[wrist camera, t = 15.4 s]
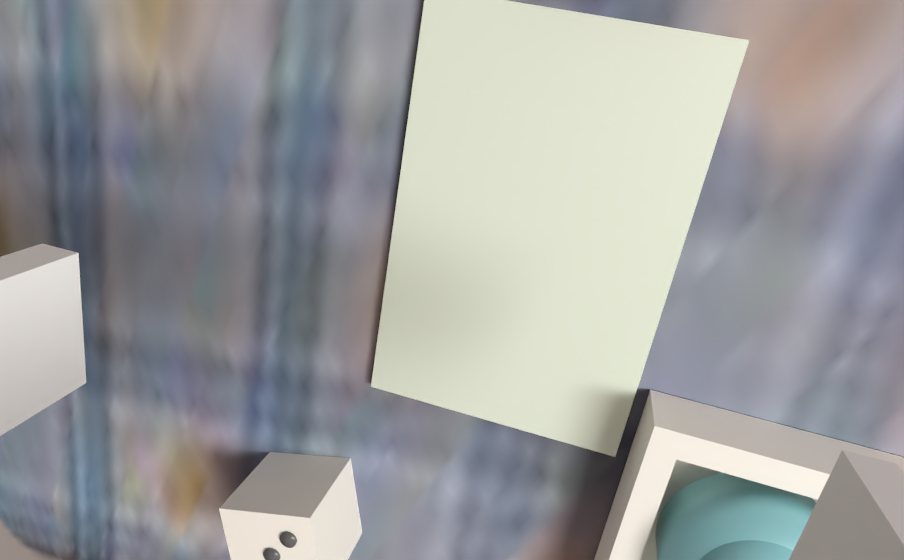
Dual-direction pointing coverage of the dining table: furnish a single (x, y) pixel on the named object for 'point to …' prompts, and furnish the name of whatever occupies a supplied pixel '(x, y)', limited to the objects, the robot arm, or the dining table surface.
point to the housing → (709, 464)
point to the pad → (544, 210)
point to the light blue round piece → (731, 521)
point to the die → (294, 510)
